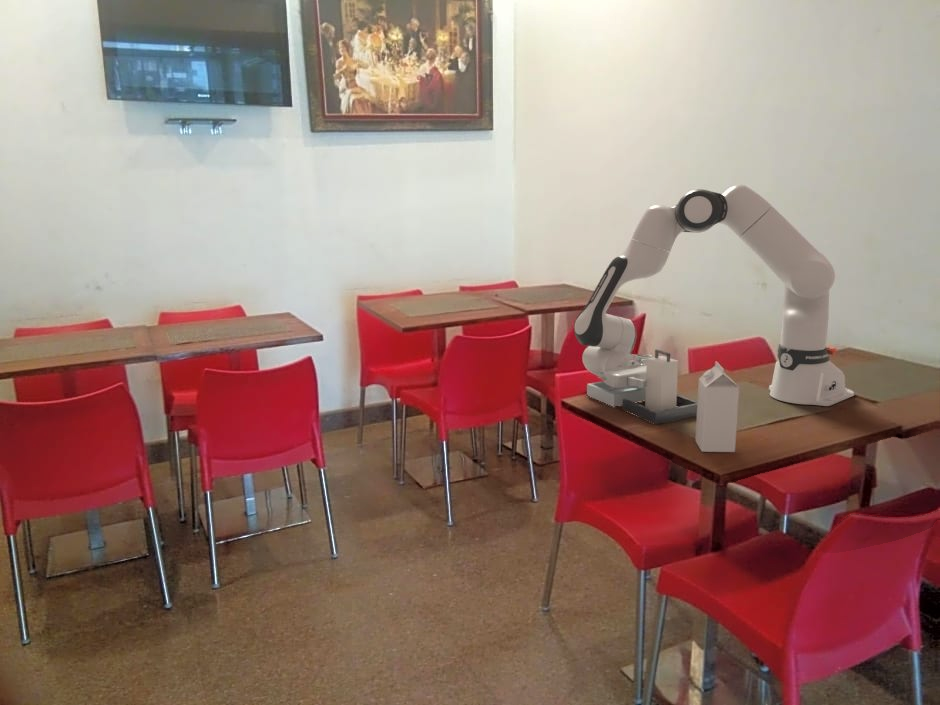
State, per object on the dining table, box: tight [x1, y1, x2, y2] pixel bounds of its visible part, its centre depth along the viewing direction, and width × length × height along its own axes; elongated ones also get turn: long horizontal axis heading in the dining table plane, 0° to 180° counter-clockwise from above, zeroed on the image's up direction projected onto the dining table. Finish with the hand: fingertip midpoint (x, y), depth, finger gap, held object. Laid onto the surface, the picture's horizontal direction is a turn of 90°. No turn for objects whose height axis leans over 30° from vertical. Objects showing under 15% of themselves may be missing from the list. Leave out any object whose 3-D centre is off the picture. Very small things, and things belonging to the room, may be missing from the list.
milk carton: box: [695, 360, 740, 453], centre depth 159 cm, size 7×7×19 cm
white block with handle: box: [644, 348, 679, 411], centre depth 184 cm, size 5×6×16 cm
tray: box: [586, 380, 646, 408], centre depth 198 cm, size 16×12×4 cm
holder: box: [621, 393, 698, 425], centre depth 185 cm, size 15×13×3 cm
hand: (659, 381), depth 184 cm, fingers open, 8 cm apart
